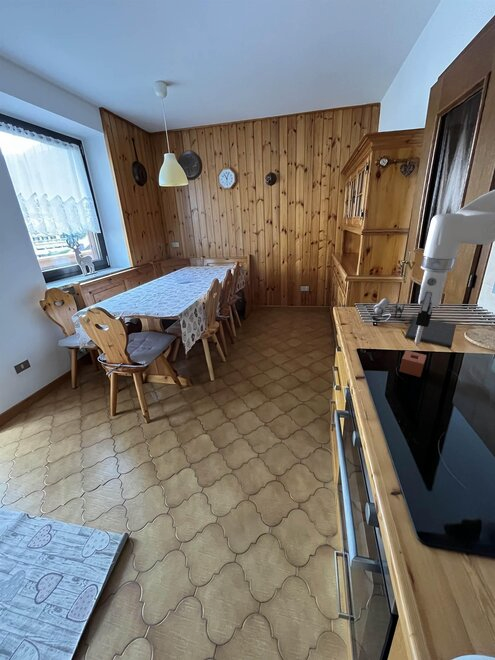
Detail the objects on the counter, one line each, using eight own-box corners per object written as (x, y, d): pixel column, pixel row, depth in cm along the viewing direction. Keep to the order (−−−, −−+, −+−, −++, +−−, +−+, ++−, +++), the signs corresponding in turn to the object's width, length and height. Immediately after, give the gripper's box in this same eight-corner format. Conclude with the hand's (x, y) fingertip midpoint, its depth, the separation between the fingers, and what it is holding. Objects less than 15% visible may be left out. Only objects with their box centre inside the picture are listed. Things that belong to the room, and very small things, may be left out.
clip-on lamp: (390, 332, 121) (406, 310, 131) (393, 320, 117) (409, 299, 127) (364, 322, 128) (380, 303, 137) (365, 311, 124) (382, 292, 133)
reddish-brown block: (423, 368, 92) (426, 355, 90) (420, 377, 88) (423, 364, 86) (403, 362, 96) (405, 350, 93) (399, 371, 91) (402, 358, 89)
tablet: (457, 327, 116) (458, 324, 115) (453, 348, 102) (454, 345, 101) (413, 319, 125) (414, 316, 124) (404, 337, 111) (405, 335, 110)
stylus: (418, 345, 88) (428, 306, 82) (418, 347, 87) (428, 308, 81) (414, 344, 89) (423, 305, 83) (413, 345, 88) (423, 307, 82)
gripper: (451, 271, 69) (433, 338, 77) (456, 258, 80) (439, 317, 88) (417, 268, 73) (403, 331, 81) (426, 256, 84) (412, 313, 92)
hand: (422, 324), depth 84 cm, fingers closed on stylus, 1 cm apart
